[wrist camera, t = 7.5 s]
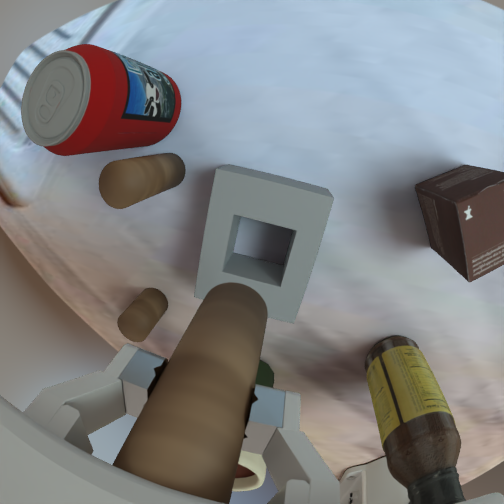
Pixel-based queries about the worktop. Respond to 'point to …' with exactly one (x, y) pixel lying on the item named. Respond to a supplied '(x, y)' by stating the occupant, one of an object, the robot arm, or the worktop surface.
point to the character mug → (250, 463)
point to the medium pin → (139, 178)
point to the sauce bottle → (414, 422)
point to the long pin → (202, 399)
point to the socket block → (270, 211)
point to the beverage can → (97, 102)
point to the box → (466, 218)
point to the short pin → (142, 315)
